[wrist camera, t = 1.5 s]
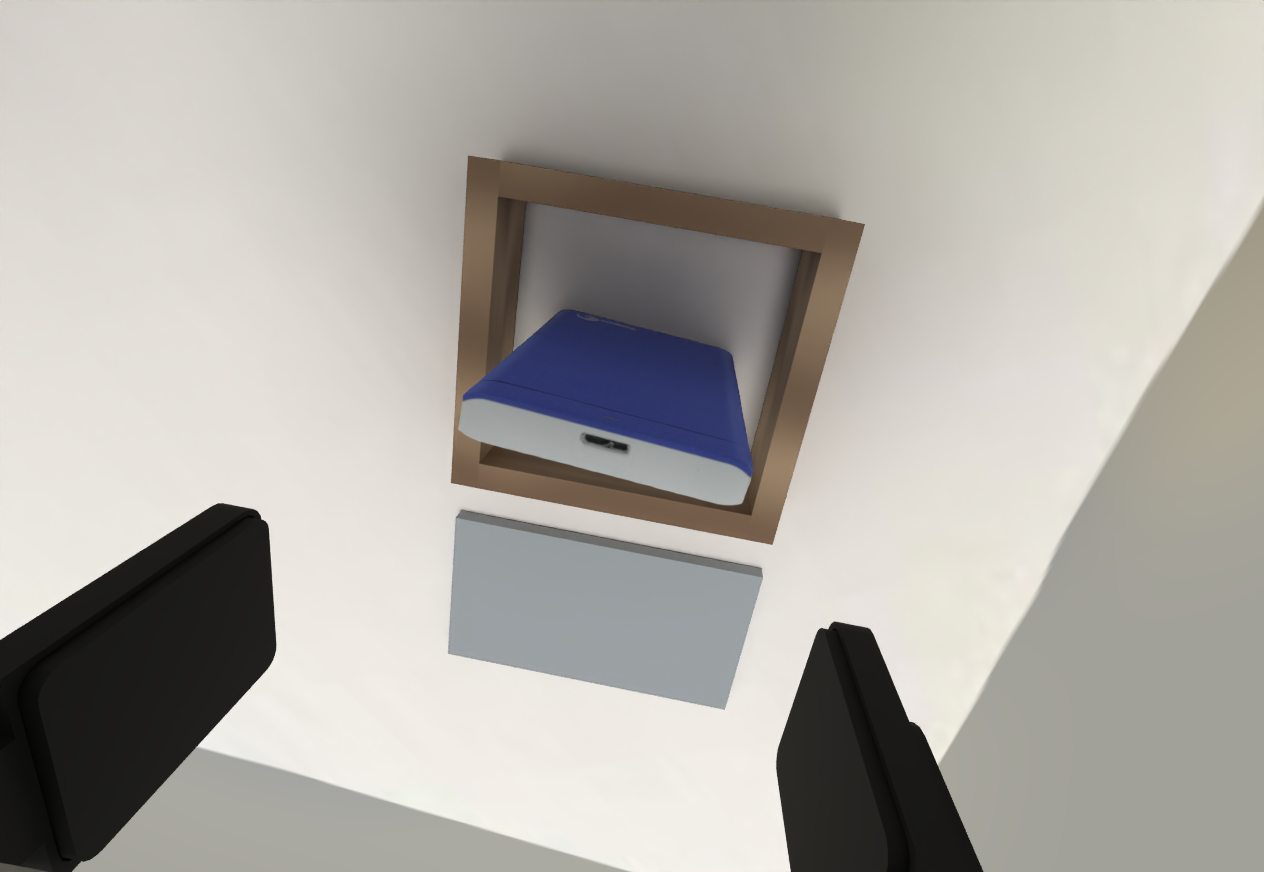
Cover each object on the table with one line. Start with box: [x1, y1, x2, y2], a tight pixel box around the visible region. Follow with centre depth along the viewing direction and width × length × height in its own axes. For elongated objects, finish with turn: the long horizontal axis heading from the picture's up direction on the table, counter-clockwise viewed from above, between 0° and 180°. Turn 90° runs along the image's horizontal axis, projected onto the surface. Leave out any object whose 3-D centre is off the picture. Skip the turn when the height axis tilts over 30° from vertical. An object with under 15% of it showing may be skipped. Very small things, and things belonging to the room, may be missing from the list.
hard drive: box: [458, 310, 753, 505], centre depth 23 cm, size 2×8×12 cm, turn 77°
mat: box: [448, 510, 763, 710], centre depth 34 cm, size 9×16×1 cm, turn 81°
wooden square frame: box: [451, 156, 865, 545], centre depth 26 cm, size 13×14×4 cm
